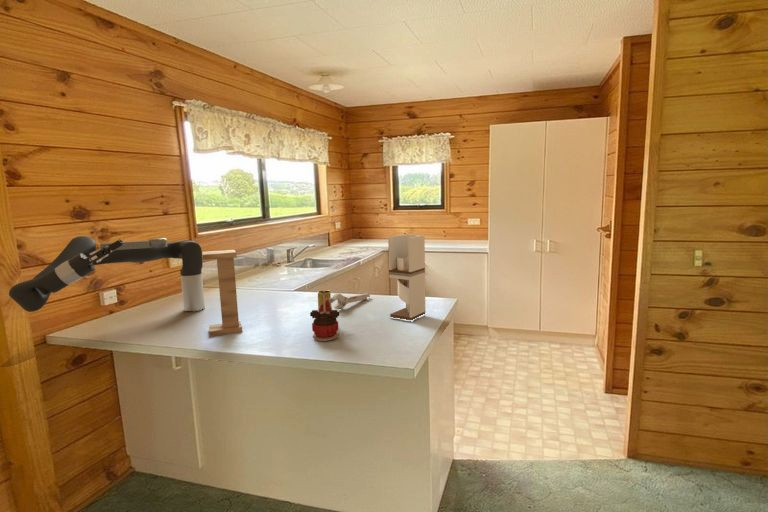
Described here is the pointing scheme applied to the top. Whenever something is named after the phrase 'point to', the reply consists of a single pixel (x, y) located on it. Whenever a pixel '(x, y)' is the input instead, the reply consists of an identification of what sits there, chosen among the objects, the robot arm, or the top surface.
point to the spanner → (140, 244)
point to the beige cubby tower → (408, 273)
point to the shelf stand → (225, 292)
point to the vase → (320, 297)
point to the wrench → (348, 299)
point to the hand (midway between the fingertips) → (121, 241)
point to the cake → (325, 321)
